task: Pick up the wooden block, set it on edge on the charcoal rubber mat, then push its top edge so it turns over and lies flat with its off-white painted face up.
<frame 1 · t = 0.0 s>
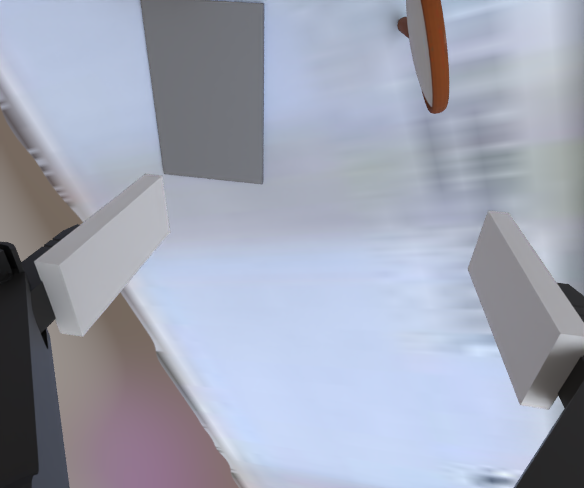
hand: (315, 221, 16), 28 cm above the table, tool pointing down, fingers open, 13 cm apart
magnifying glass: (403, 23, 36), on the table
mat: (208, 98, 42), on the table
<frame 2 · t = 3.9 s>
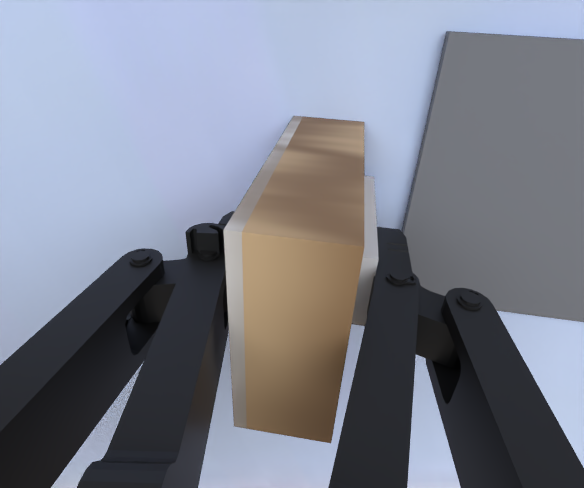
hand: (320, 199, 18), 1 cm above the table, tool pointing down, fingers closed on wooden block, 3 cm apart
wooden block: (321, 194, 19), on the table, touching gripper
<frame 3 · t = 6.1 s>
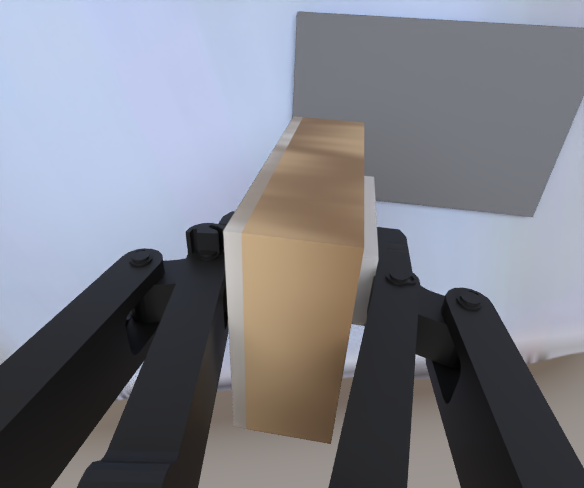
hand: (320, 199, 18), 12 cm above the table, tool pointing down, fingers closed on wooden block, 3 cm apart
mat: (423, 120, 27), on the table
wooden block: (321, 194, 19), point 11 cm above the table, touching gripper
when the fingers open (2 cm above the table, at t = 8.3 s): wooden block stays where it is, resting on mat.
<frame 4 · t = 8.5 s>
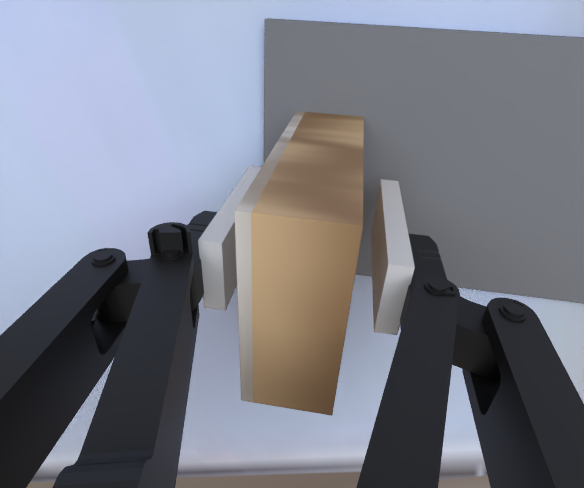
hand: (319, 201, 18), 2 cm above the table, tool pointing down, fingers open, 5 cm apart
mat: (452, 175, 19), on the table
wooden block: (322, 186, 19), point 1 cm above the table, touching mat
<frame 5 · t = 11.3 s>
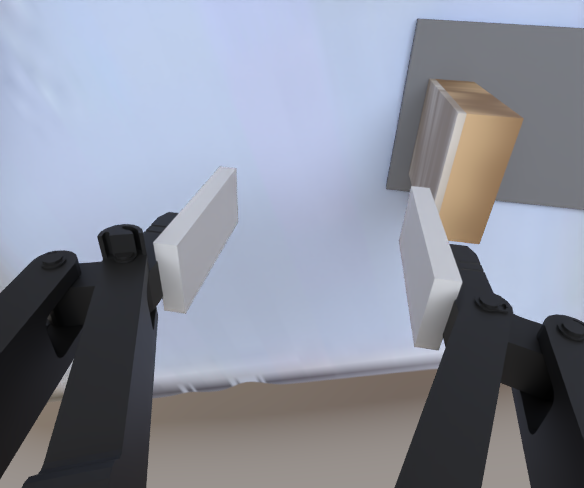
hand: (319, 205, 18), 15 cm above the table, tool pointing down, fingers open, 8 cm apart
mat: (527, 122, 28), on the table
wooden block: (439, 130, 29), point 1 cm above the table, touching mat
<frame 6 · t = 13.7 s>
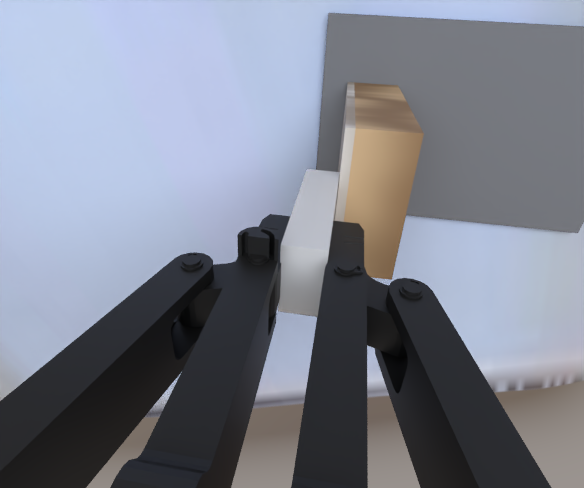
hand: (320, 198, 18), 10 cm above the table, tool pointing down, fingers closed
mat: (462, 130, 25), on the table
wooden block: (364, 141, 25), point 1 cm above the table, touching gripper, mat
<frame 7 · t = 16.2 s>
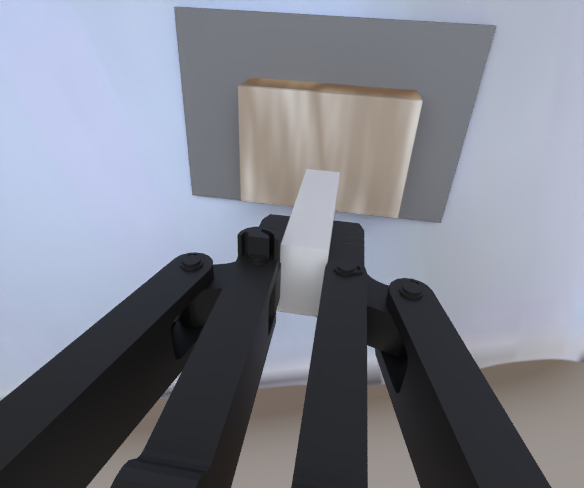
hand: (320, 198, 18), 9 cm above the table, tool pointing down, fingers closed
mat: (320, 121, 26), on the table
wooden block: (245, 140, 25), point 2 cm above the table, tilted 90°, touching mat
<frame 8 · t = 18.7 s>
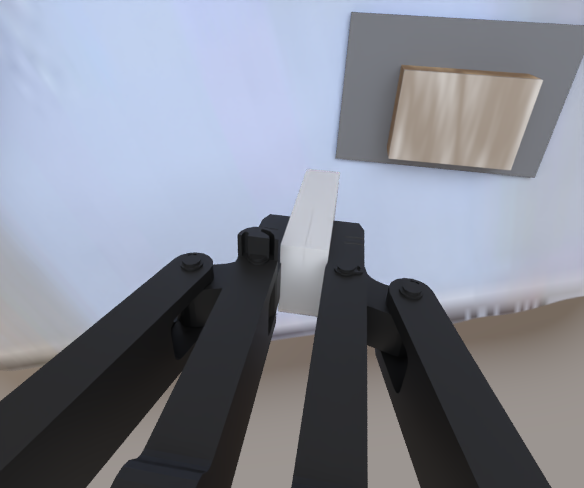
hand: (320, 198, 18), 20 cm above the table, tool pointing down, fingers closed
mat: (447, 99, 34), on the table
wooden block: (394, 112, 33), point 2 cm above the table, tilted 90°, touching mat
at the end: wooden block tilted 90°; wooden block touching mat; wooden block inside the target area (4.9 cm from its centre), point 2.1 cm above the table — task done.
